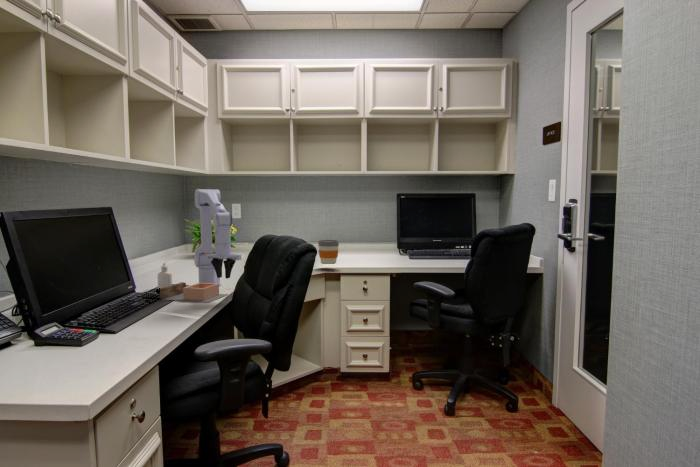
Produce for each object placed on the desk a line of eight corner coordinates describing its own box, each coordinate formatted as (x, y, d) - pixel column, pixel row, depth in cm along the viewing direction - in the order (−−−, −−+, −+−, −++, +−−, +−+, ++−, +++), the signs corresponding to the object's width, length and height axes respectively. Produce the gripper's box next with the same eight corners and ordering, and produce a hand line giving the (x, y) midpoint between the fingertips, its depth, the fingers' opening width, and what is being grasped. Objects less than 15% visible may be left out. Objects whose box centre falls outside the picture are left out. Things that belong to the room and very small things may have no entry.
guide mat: (177, 291, 172) (177, 291, 172) (228, 294, 167) (228, 294, 167) (153, 299, 159) (153, 298, 159) (208, 302, 153) (208, 302, 153)
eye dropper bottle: (166, 289, 178) (165, 262, 177) (173, 290, 174) (172, 263, 173) (156, 290, 174) (155, 263, 173) (163, 292, 171) (162, 264, 170)
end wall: (181, 291, 171) (181, 282, 171) (185, 292, 171) (185, 282, 171) (160, 298, 159) (160, 288, 158) (164, 298, 158) (164, 288, 158)
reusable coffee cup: (332, 263, 257) (332, 239, 256) (342, 265, 246) (342, 241, 245) (314, 264, 250) (314, 240, 249) (324, 267, 240) (324, 242, 239)
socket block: (199, 293, 168) (199, 282, 167) (219, 294, 166) (218, 283, 165) (183, 299, 158) (183, 287, 157) (203, 300, 155) (203, 288, 155)
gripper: (200, 243, 156) (201, 278, 156) (234, 244, 152) (235, 280, 153) (211, 242, 162) (211, 275, 163) (243, 242, 159) (244, 277, 160)
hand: (223, 277), depth 159 cm, fingers open, 3 cm apart
